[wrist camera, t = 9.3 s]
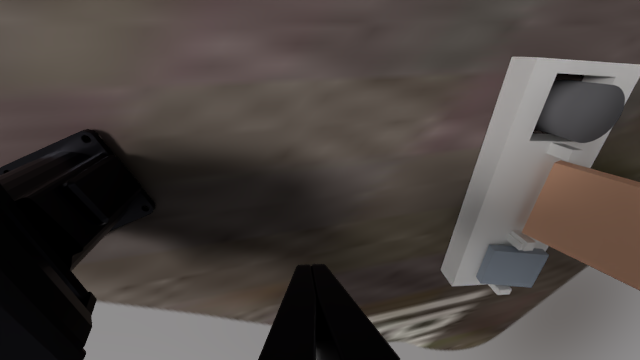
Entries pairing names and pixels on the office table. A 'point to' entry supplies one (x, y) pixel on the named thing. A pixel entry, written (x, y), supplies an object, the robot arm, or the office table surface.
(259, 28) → the office table surface
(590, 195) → the paddle lever
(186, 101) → the office table surface
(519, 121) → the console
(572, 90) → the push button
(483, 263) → the rocker switch
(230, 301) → the office table surface
